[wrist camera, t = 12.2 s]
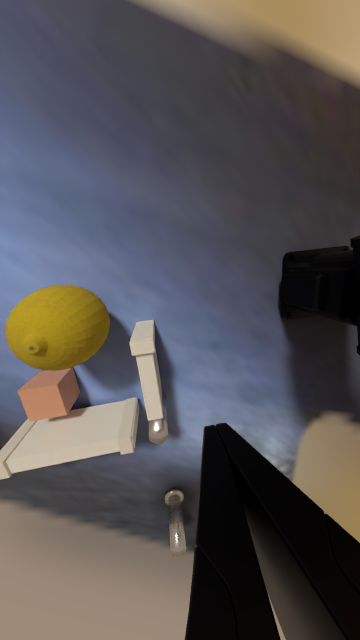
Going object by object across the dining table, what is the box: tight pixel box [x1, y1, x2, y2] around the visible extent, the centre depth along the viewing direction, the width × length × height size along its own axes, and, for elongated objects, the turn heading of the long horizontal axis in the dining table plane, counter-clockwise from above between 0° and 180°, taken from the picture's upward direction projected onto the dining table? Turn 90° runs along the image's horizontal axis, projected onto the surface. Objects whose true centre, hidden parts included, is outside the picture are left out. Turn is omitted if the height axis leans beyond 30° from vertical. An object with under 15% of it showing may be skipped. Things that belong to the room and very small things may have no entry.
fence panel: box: [129, 320, 163, 421], centre depth 16 cm, size 2×7×5 cm, turn 7°
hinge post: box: [149, 391, 168, 444], centre depth 18 cm, size 2×2×5 cm
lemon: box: [5, 285, 110, 371], centre depth 13 cm, size 6×6×8 cm
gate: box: [0, 397, 139, 479], centre depth 17 cm, size 10×2×5 cm, turn 97°
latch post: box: [165, 488, 186, 556], centre depth 22 cm, size 2×2×5 cm
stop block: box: [18, 367, 80, 422], centre depth 17 cm, size 3×3×3 cm
